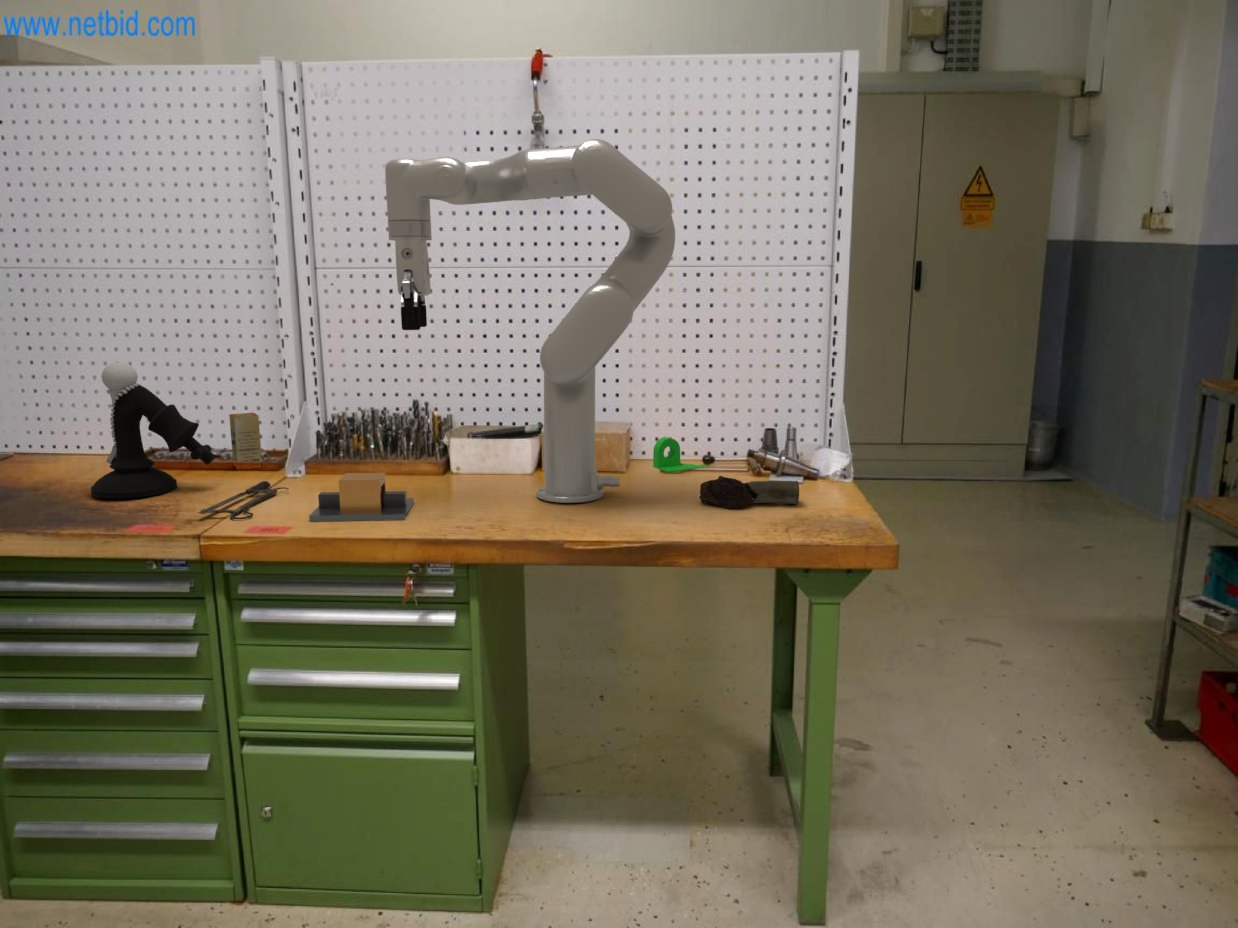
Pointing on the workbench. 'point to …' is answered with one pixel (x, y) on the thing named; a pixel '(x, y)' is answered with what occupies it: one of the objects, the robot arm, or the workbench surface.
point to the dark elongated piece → (748, 492)
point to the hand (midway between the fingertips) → (414, 328)
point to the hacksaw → (254, 489)
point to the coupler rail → (392, 509)
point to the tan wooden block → (361, 491)
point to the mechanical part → (670, 457)
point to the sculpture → (128, 453)
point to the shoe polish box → (245, 436)
